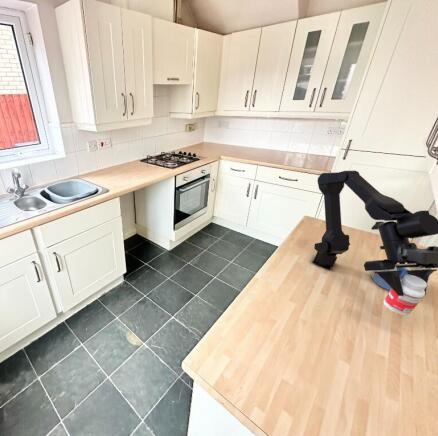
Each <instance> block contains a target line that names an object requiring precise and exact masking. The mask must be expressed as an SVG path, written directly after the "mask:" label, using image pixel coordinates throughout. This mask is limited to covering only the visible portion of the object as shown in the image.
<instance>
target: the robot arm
mask: <svg viewBox="0 0 438 436" xmlns="http://www.w3.org/2000/svg"><path fill="white" fill-rule="evenodd" d="M317 185H318V190H319V191H320V192H321V194H322V195H323V201H324V202H323V203H324V216H325V217H324V218H325V231H324V233H323V235H322V236H321V242H316V243H314V245H313V246H314V247H313V249H314V250H315V251H316V253H315V256H314V258H313V260H312V262H311V263H312V264H314V265H315V266H317V267H322V268H323V269H325V270H328V271H330V270H331V269H332V268H333V267H334V266H335V264H336V262H337V259H338V257H339V256H337V255H343V254H344V253H346V252H347V251H348V250H349V248H350V246H351V243H350V235H349V234H345V232H344V231H343V229H342V228H343V227H342V225H343V224H342V212H341V211H342V210H341V193H342V191H343V189H344V188H345V185H346V186H347V187H348V188H349V189H350V190H351V191H352V192H353V193H354V194H355V195H356V196H357V197H358V198H359V199H360V200H361V202H362V203H364V210H365V211H366V213H367V215H369V217H370V219H372V220H374V221H375V223H374V224H373V225H372V227H371V230H372V231H375V230H376V231H378V232H379V235H380V239H381V243H382V245H380V246H379V248H380V250H384V252H385V257H386V259H377V260H368V261H367V260H366V261H364V264H363V268H364V271H365V272H373V271H375V270H378V272H374V273H375V274H378V275H379V276H380V277H381V278H382V279H383V280H384V281H385V282H386V283H387V284H388V285H389V286H390V287H391V288H392V289H393V290H394V291H395V292H396V293H397V295H399V296H403V289H402V285H401V281H400V275H401V273H402V271H398V270H397V268H406V269H408V268H409V269H408V270H409V271H407V273H408V275H413V276H416V277H419V278H421V279H423V280H424V281H425V282H426V283H427V284H429V283H428V282H429V278H430V276H431V275H432V274H433V273H434V272H437V271H438V246H437V245H432V246H431V245H430V246H427V248H419V247H418V245H417V244H416V243H415V242H410V239H418V238H424V237H430V236H435V235H438V218H437V217H436V216H435V215H432V214H431V213H430V211H429V210H418V211H415V212H412V211H410V210H409V209H407V208H405V206H404V204H403V203H402V202H400V201H398V200H397V199H395V198H393V197H390V196H388V195H385V194H383V193H381V192H380V191H379V190H377V188H375V187H374V186H373V185H372V184H371V183H370V182H368V180H366V179H365V178H364V177H363V176H362V175H360V172H359V171H358V170H355V169H354V170H343V171H339V172H336V171H335V172H322V173H321V174H319V176H318V177H317ZM427 289H428V286H427V287H426V288H425V289H424V291H425V295H424V296H426V294H427Z"/></svg>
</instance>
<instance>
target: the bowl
mask: <svg viewBox="0 0 438 436" xmlns="http://www.w3.org/2000/svg"><path fill="white" fill-rule="evenodd" d="M397 270H398V271H402V273H401V275H400V280H402V279H403V277H404V276H405V275H408V273H407V271H409V270H410V269H408V268H397ZM374 272H378V270H375V271H371V274H370V276H371V279H372V280H373V282H374V283H375V284H377V286H379V287H381V288H383V289H385V290H387V291H388V292H390V290H391V289H392V288H391V287H390V286H389V285H388V284H387V283H386V282H385V281H384V280H383V279H382V278H381V277H380V276H379V275H378V274H375V273H374Z"/></svg>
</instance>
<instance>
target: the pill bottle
mask: <svg viewBox="0 0 438 436" xmlns="http://www.w3.org/2000/svg"><path fill="white" fill-rule="evenodd" d="M400 281H401V285H402V289H403V296H399V295H397V293H396V292H395V291H394V290H393V289H391V290H390V291H388V292H387V295H386V296H385V298H384V299H383V304H384V306H385V307H386V308H387V309H389V310H390V311H392V312H393V313H396V314H397V315H402V316H408V315H410V314H411V313H412V312H413V311H414V310H415V308H416V307H417V306H418V304H419V303H420V302H421V301H422V299H423V298H424V297H425V296H426V295H425V291H424V289H425V288H426V287H427V288H428V283H426V282H425V281H424V280H423V279H421V278H419V277H416V276H413V275H405V276H404V277H403V279H402V280H400Z"/></svg>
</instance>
